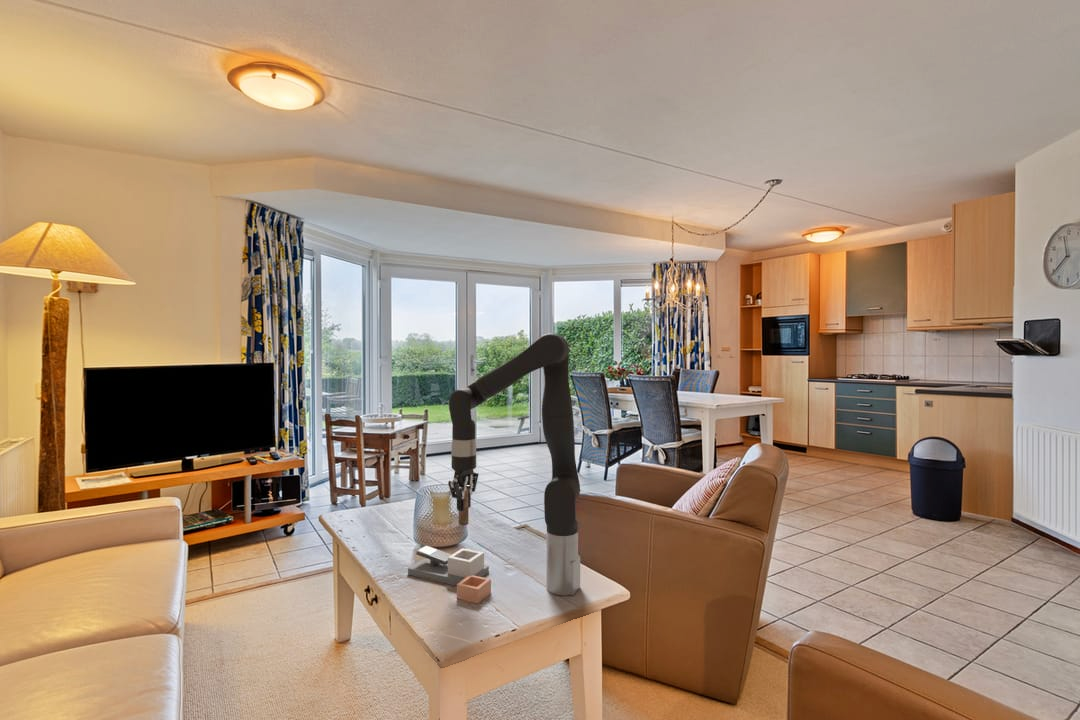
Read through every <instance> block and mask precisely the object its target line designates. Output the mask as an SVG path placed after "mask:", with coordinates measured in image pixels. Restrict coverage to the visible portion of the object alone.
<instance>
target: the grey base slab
mask: <svg viewBox="0 0 1080 720" xmlns="http://www.w3.org/2000/svg"><path fill="white" fill-rule="evenodd" d="M489 569H490V567H489V565H485V552H484V551H478V550H474V549H469V548H460V549H459V550H457V551H456V552H454V553H453V554H451V556H449V557H448V564H446V565H443V564H440V563H438V562H435V561H432V560H430V559H427V558H425V557H423V558H422V559H420V560H419V561H418V562H416V563H415V564H412V565H411V566H409V567H408V568H407V575H409V576H413V577H416V578H422V579H426V580H431V581H434V582H439V583H443V584H447V585H451V586H456V587H457V584H458V583H460V582H461V581H462V580H464V579H465V578H466V577H468V576H469V575H474V576H479V577H485V576H486V575H488V574H489V572H490V571H489Z"/></svg>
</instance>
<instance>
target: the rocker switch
mask: <svg viewBox="0 0 1080 720" xmlns="http://www.w3.org/2000/svg"><path fill="white" fill-rule="evenodd" d="M451 555H452V554H451V553H448V552H446V551H443V550H440V549H437V548H435V547H432V546H430V545H424V546H422V547H420V548H419V549H418V550H416V556H419V557H422V558H427V559H430V560H432V561H435V562H438V563H440V564H443V565H446V564H448V557H449V556H451Z"/></svg>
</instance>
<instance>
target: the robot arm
mask: <svg viewBox="0 0 1080 720" xmlns="http://www.w3.org/2000/svg"><path fill="white" fill-rule="evenodd" d="M569 359H570V348H569V344H568V341H567V340H566V338H564V336H563V335H560V334H558V333H552V332H551V333H550V332H549V333H545V334H543V335H541V336H540V337H539V338H537V339H536V340H534V342H533V343H532V344H530V345H529V346H528V347H527V348H526V349H524V350H523V351H521V352H520V353H519V354H518V355H516V356H515V357H512V358H511V359H510V360H507V361H506V362H504V363H502V364H501V365H498V366H497V367H495V368H493V369H491V370H490V371H487V372H486V373H484V374H483V375H481V376H480V377H477V379H476V380H475V382H473V383H471V384H469V385H467V386H465V387H463V388H457V389H455V390H454V391H452V392H451V394H450V396H449V399H448V411H449V414H450V419H451V423H452V426H451V427H452V428H451V429H452V430H451V431H452V433H451V435H452V437H451V469H452V470H453V471H454V475H453V479H452V480H449V481H448V483H447V485H448V488H449V492H450V495H451V498H453V499H456V510H457V512H459V511H464V494H465V491H466V488H467V487H468V509H469V508H471V506H472V505H471V503H472V502H471V499H472V498H471V497H472V495H473V493H475V492H476V488H477V483H478V480H479V472H474V470H475V469H476V468H477V442H476V422H475V421H474V419H472V410H473V409H474V408H476V407H478V406H479V405H481V404H482V403H484V402H486V401H487V400H488V399H490V398H492V397H494V396H496V395H497V394H500V393H501V392H503V391H505V390H506V389H508V388H509V387H511V386H512V385H515V383H517V382H518V381H519V380H521V379H522V378H524V377H525V376H527V375H528V374H530V373H532V372H534V371H536V370H539V369H543V374H544V388H543V394H542V401H541V402H542V403H541V419H542V420H541V422H542V423H541V424H542V431H543V436H544V439H545V442H546V445H547V448H548V450H549V453H550V458H551V480H550V481H549V482H548V483H547V485H546V487H545V488H544V495H543V496H544V497H543V502H544V503H543V506H544V507H543V508H544V522H545V525H546V580H545V581H546V590H547V592H549V593H551V594H553V595H557V596H574V595H575V594H576V593H577V591H578V590H579V589H580V587H581V555H579V523H578V521H577V517H576V501H577V500H578V499H579V497H580V494H581V485H580V479H579V473H578V469H577V463H576V450H575V449H576V448H575V443H576V442H575V423H574V411H573V410H574V409H573V402H572V401H573V400H572V397H571V395H572V394H571V387H570V382H569V380H570V378H569V361H570V360H569ZM460 487H463V488H460ZM460 491H461V494H460Z"/></svg>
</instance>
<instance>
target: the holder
mask: <svg viewBox="0 0 1080 720" xmlns="http://www.w3.org/2000/svg"><path fill="white" fill-rule="evenodd" d="M491 593H492V579H491V578H487V577H485V576H483V577H479V576H474V575H469V576H468V577H466V578H465V579H464V580H462V581H461V582H460V583H458V584H457V586H456V600H457V599H459V600H462V601H466V602H470V603H474V604H480V603H481V602H482V601H483V600H484V599H486V598H487V597H488V596H489V595H491Z"/></svg>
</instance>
